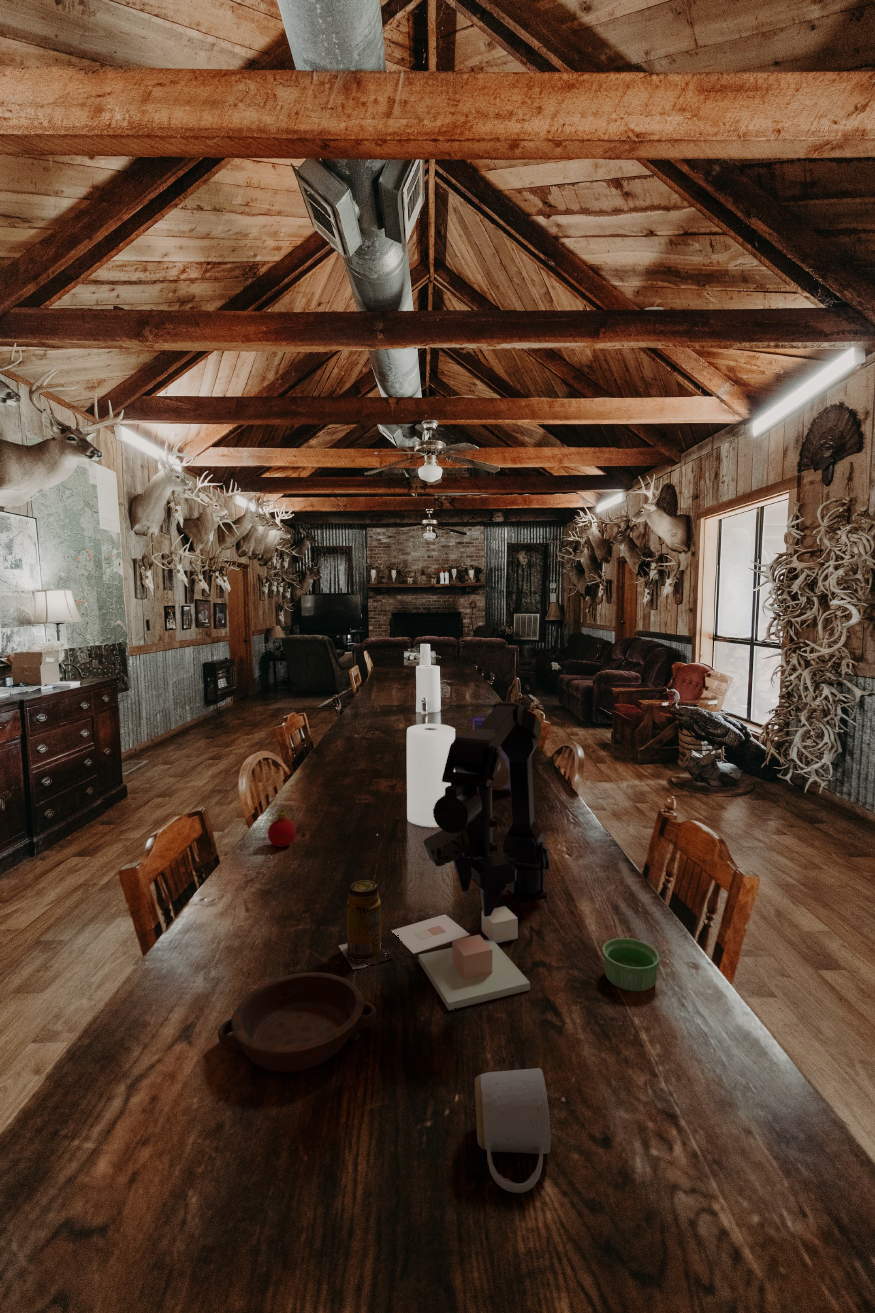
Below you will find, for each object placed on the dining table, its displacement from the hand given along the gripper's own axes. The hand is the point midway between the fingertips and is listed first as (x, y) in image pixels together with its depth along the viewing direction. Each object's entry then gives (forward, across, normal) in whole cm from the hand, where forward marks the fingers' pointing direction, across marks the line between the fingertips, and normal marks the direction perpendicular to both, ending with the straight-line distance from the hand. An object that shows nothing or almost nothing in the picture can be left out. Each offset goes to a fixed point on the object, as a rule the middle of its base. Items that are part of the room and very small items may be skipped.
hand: (475, 903), depth 102 cm
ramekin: (+12, +11, +23) cm, 28 cm away
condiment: (+12, -12, -16) cm, 23 cm away
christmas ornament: (+12, -69, -24) cm, 74 cm away
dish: (+12, +6, -30) cm, 33 cm away
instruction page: (+12, -14, -3) cm, 18 cm away
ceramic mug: (+12, +34, -10) cm, 37 cm away
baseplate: (+12, +1, -1) cm, 12 cm away
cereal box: (+13, -94, +51) cm, 107 cm away
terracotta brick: (+10, +1, -1) cm, 11 cm away
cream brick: (+12, -9, +9) cm, 17 cm away
